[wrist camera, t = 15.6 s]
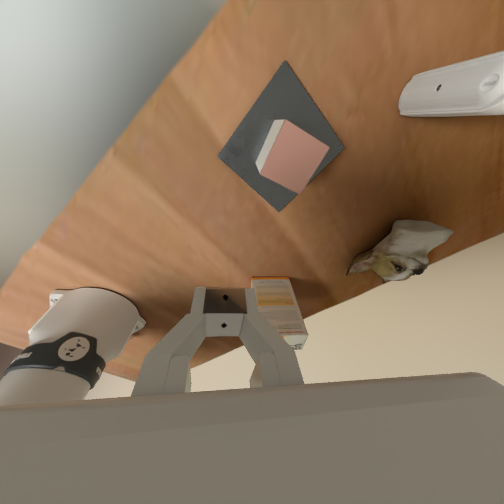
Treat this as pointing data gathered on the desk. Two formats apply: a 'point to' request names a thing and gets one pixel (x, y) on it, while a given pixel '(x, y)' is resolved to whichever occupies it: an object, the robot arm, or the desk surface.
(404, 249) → the ceramic sculpture
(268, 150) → the pink and white block
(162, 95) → the desk surface
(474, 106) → the photo printer
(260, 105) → the grey square base plate
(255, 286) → the supplement box
